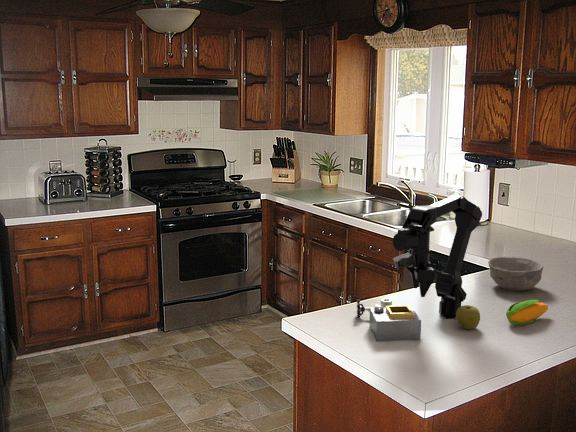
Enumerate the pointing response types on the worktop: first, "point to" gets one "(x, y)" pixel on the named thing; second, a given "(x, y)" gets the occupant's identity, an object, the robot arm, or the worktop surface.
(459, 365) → the worktop surface
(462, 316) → the apple
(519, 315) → the corn
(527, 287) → the bowl
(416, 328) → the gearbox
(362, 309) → the valve
